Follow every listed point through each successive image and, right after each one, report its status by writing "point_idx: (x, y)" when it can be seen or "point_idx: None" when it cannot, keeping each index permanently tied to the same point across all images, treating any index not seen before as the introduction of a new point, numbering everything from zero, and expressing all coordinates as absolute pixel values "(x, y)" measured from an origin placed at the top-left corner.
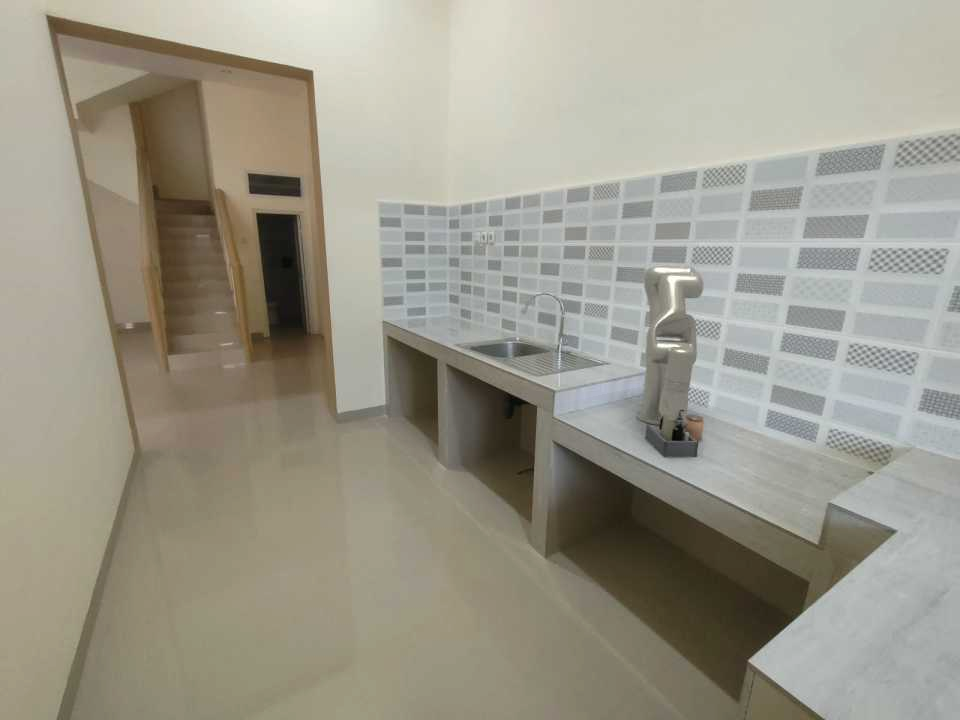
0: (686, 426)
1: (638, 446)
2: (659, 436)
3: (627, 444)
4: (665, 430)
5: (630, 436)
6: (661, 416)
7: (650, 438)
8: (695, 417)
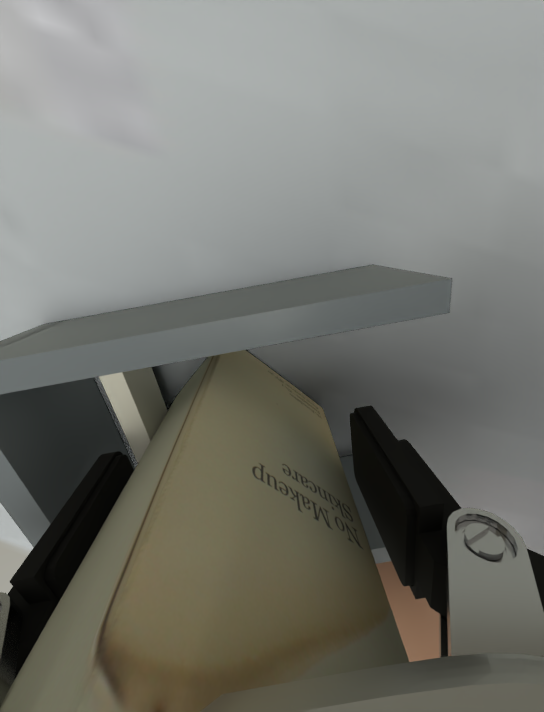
0: (406, 592)
1: (189, 151)
2: (86, 352)
3: (211, 21)
4: (158, 458)
5: (409, 125)
6: (487, 543)
7: (282, 288)
8: None
